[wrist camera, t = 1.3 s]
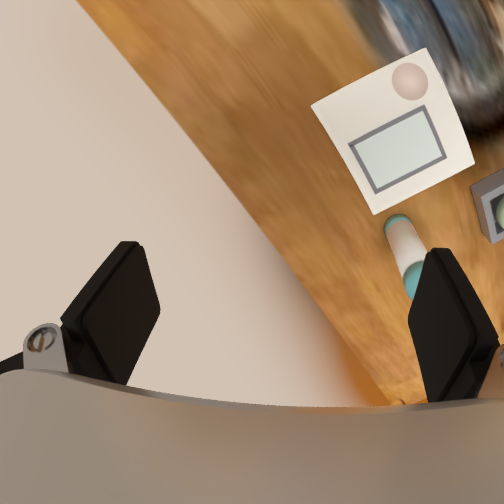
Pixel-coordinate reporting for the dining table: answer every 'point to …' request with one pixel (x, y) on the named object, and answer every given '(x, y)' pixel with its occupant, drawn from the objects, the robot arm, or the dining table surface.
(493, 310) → the dining table surface
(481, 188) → the button housing
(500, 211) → the button
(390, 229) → the marker
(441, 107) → the sheet
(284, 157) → the dining table surface
